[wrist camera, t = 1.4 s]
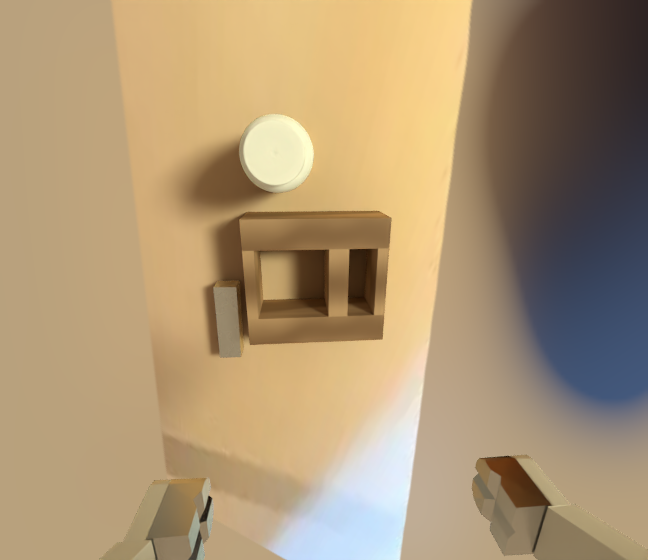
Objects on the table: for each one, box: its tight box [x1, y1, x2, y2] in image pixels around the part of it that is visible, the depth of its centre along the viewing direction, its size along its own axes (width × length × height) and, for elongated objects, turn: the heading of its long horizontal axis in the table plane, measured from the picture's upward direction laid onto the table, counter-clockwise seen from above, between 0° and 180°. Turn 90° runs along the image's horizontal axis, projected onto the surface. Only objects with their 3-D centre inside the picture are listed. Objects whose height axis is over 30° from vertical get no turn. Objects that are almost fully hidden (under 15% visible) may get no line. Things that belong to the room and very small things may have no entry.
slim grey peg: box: [213, 281, 244, 358], centre depth 34 cm, size 8×2×2 cm, turn 178°
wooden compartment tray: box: [239, 211, 391, 345], centre depth 31 cm, size 12×13×4 cm
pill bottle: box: [239, 114, 314, 193], centre depth 25 cm, size 5×5×10 cm
